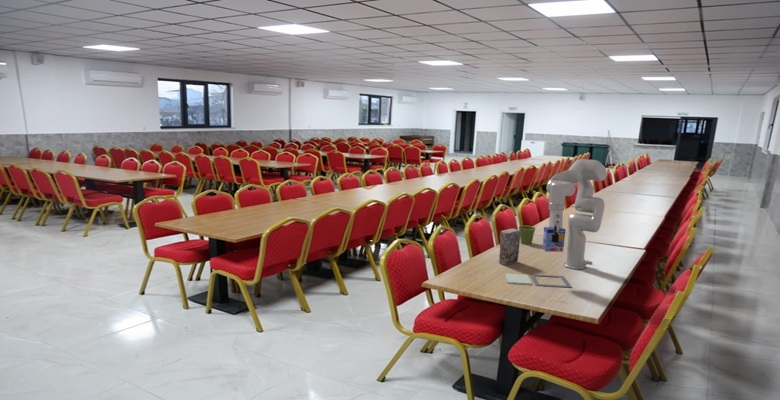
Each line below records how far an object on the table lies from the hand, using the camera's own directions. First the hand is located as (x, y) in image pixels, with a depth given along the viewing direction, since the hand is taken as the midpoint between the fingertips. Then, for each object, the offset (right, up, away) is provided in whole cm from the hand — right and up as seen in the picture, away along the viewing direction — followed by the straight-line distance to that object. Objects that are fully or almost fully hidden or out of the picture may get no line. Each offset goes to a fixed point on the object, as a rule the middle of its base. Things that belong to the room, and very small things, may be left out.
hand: (553, 240), depth 249 cm
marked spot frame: (-1, -22, +4) cm, 22 cm away
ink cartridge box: (0, -6, +1) cm, 6 cm away
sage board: (-18, -21, +5) cm, 28 cm away
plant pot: (+9, -9, +82) cm, 83 cm away
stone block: (-15, -17, +35) cm, 42 cm away
